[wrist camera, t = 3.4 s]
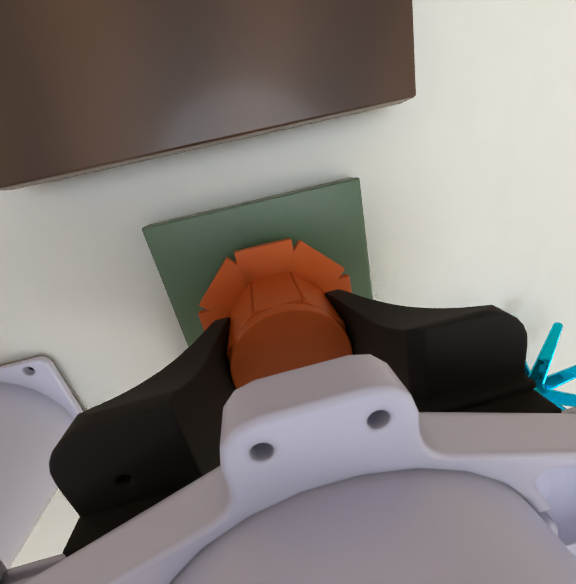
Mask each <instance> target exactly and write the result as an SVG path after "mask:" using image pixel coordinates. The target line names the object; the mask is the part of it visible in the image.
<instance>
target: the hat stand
mask: <svg viewBox="0 0 576 584" xmlns="http://www.w3.org/2000/svg"><path fill="white" fill-rule="evenodd" d="M142 231H143V234H144V236H145V239H146V241H147V244H148V246H149V249H150V251H151V254H152V256H153V259H154V261H155V264H156V266H157V269H158V271H159V274H160V276H161V279H162V281H163V284H164V286H165V289H166V291H167V294H168V296H169V299H170V301H171V304H172V306H173V309H174V311H175V314H176V316H177V319H178V321H179V324H180V326H181V329H182V331H183V334H184V336H185V339H186V341H187V344H188V346H189V347H190V346H191V345H192V344H193V343H194V342H195V341H196V340H197V339H198V338H199V336H200V335H201V334H202V333H203V332H204V329H203V326H202V323H201V321H200V318H199V315H198V314H199V311H200V310H204V309H205V308H203V307H201V306H199V304H200V301H201V300H202V298H203V296H204V294H205V293H206V291H207V289H208V288H209V286H210V284H211V282H212V281H213V279H214V277H215V276H216V274H217V272H218V271H219V269H220V267H221V265H222V264H223V262H224V260H225V259H226V257H228V258H230V259H232V260H234V261H235V262H236V259H235V255H234V252H235V251H237V250H241V249H245V248H249V247H253V246H258V245H262V244H266V243H270V242H274V241H278V240H282V239H287V238H290V239H291V241H292V246H293V248H294V246H295V244H296V243H297V241H298V240H301V241H303V242H304V243H306V244H307V245H309V246H311V247H312V248H314V249H315V250H317V251H319V252H320V253H322V254H323V255H325V256H326V257H328V258H330V259H331V260H333V261H334V262H336V263H337V264H339V265H341V266H342V267H343V268H344V269H345V270H344V271H343V273H342V274H341V275H344V274H347V275H349V277H350V283H351V291H352V293H353V294H356V295H359V296H362V297H365V298H368V299H372V300H373V298H372V289H371V280H370V271H369V262H368V253H367V244H366V235H365V226H364V217H363V208H362V199H361V190H360V181H359V178H348V179H344V180H339V181H335V182H331V183H326V184H322V185H318V186H314V187H309V188H305V189H301V190H296V191H292V192H288V193H284V194H279V195H275V196H271V197H266V198H262V199H258V200H254V201H249V202H245V203H241V204H237V205H232V206H228V207H224V208H219V209H215V210H211V211H207V212H202V213H198V214H194V215H189V216H185V217H181V218H177V219H172V220H168V221H164V222H159V223H155V224H151V225H148V226H146V227H144V228H142Z"/></svg>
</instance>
